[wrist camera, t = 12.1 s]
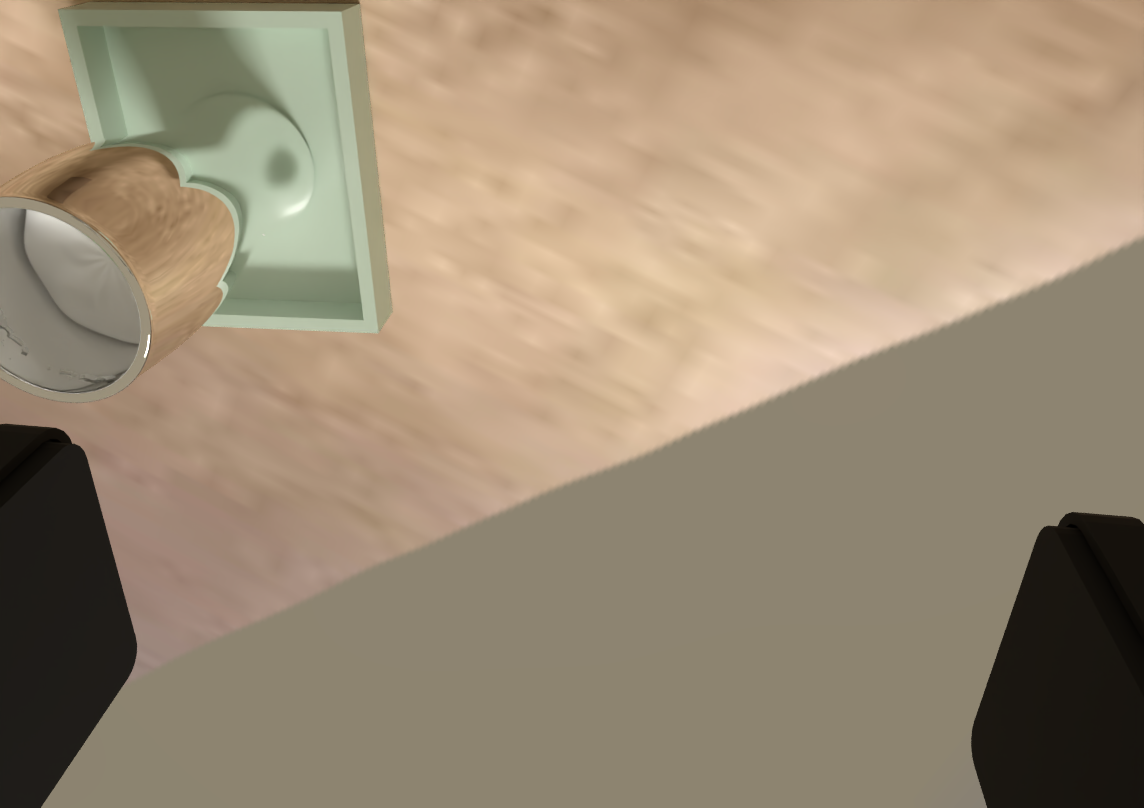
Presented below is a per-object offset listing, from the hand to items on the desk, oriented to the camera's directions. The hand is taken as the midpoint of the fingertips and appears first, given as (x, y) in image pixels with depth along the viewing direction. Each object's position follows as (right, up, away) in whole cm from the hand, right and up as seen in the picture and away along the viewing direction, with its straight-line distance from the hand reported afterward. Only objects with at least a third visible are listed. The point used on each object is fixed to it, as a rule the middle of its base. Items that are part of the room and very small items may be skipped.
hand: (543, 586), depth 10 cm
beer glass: (-14, +12, +32) cm, 36 cm away
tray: (-14, +12, +32) cm, 37 cm away
